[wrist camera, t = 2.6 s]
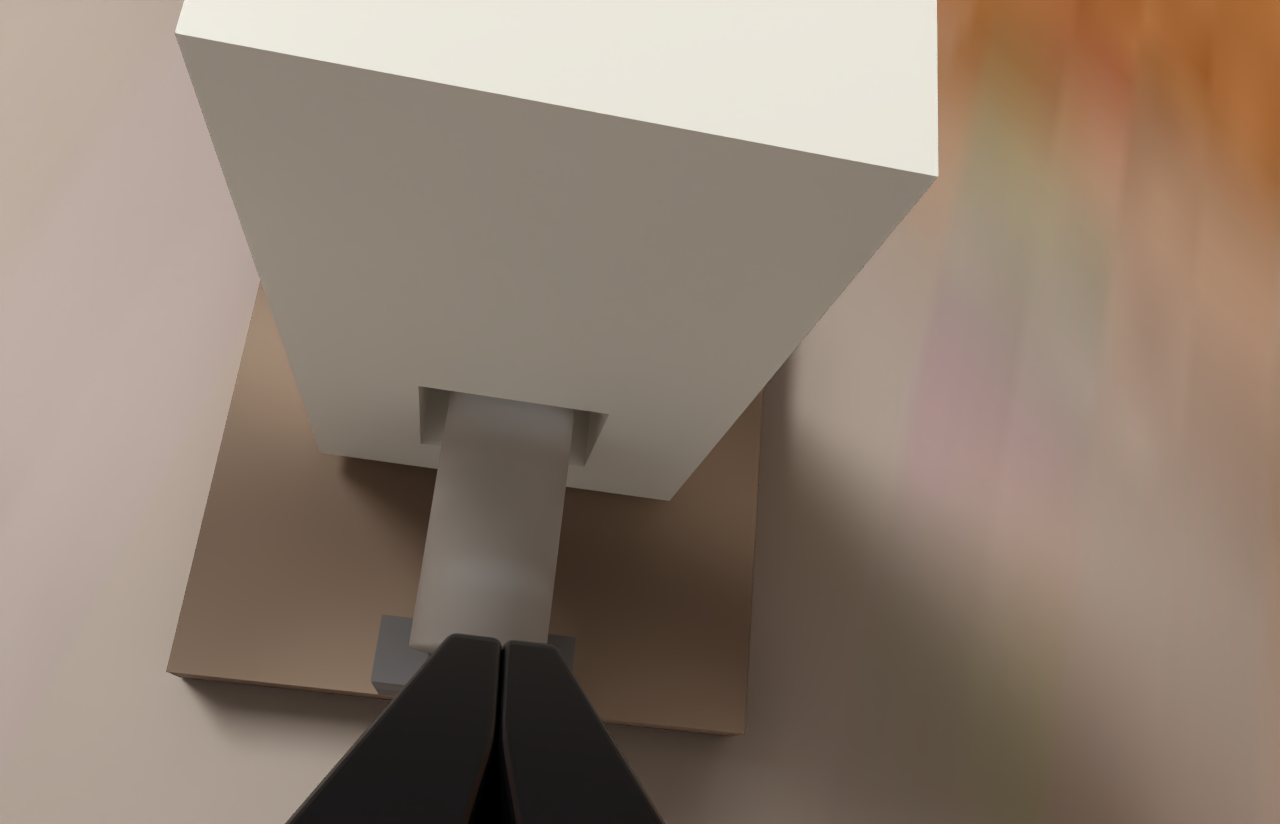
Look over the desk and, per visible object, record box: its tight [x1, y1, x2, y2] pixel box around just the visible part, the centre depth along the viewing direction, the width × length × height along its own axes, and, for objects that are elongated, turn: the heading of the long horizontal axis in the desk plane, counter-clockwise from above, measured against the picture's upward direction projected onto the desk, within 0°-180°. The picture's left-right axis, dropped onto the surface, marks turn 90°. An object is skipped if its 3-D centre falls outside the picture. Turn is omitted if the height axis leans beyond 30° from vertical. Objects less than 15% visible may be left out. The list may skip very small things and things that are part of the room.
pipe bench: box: [166, 280, 763, 736], centre depth 20 cm, size 17×10×5 cm, turn 175°
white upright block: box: [175, 0, 938, 501], centre depth 15 cm, size 4×6×11 cm, turn 85°
